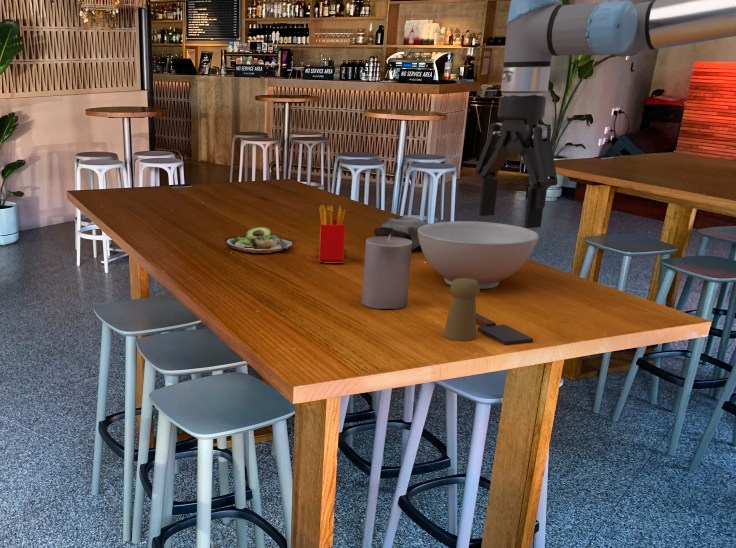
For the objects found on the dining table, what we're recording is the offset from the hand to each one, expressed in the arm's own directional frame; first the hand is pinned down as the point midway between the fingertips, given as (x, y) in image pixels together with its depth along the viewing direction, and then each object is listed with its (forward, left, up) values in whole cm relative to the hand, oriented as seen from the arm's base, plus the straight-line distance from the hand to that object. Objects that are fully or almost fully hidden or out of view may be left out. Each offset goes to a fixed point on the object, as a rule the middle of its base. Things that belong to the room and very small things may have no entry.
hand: (508, 221), depth 141 cm
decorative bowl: (+37, -18, -22) cm, 47 cm away
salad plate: (+89, +18, -22) cm, 94 cm away
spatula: (+4, -2, -22) cm, 22 cm away
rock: (+78, -21, -22) cm, 84 cm away
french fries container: (+68, +5, -22) cm, 72 cm away
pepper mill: (+2, +6, -22) cm, 23 cm away
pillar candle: (+26, +10, -22) cm, 36 cm away
